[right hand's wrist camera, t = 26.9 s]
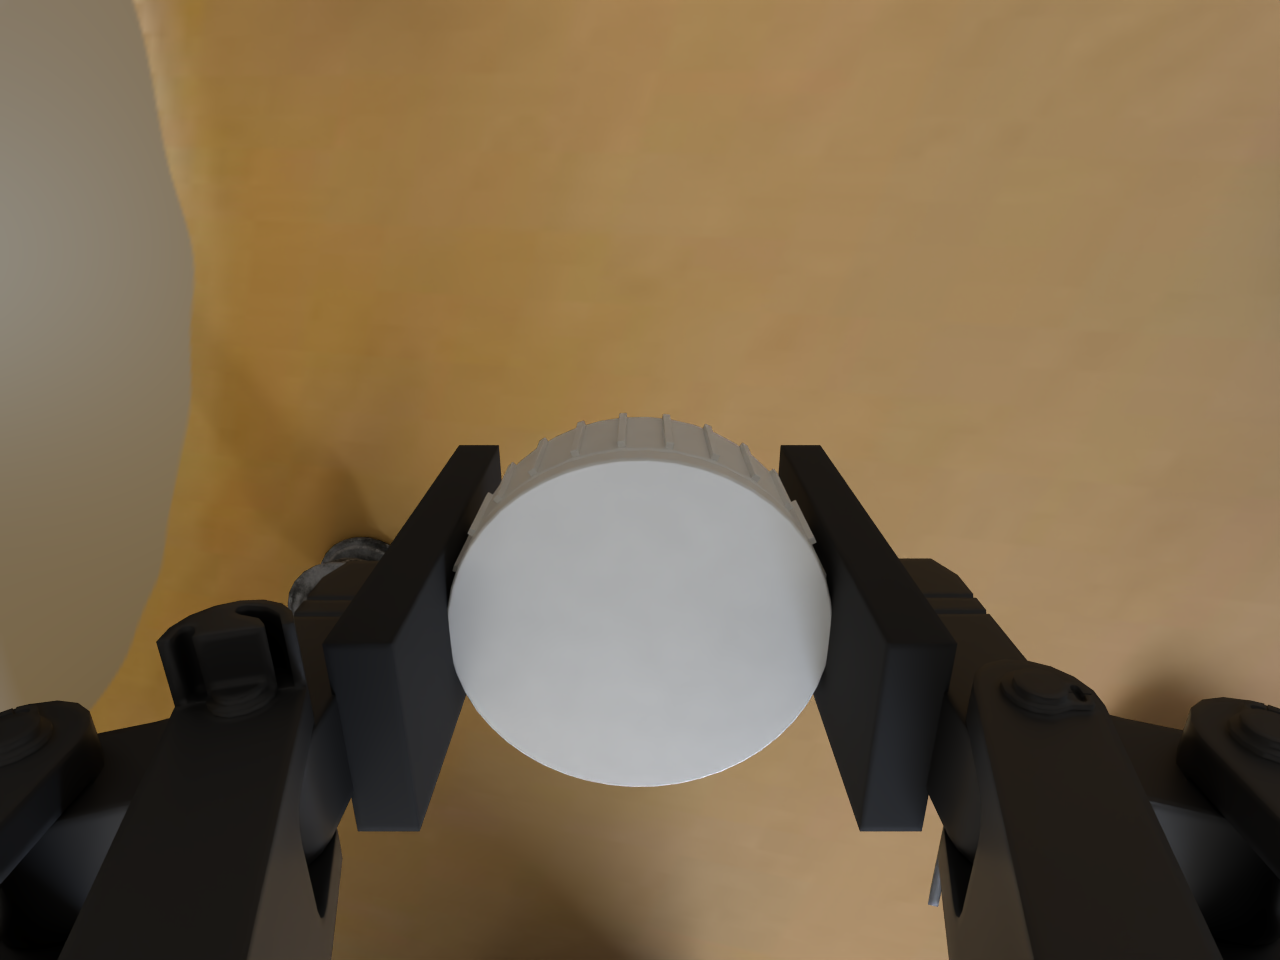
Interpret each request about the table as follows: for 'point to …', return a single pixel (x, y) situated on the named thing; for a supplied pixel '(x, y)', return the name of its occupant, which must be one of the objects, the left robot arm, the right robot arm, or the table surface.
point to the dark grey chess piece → (335, 565)
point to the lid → (639, 604)
